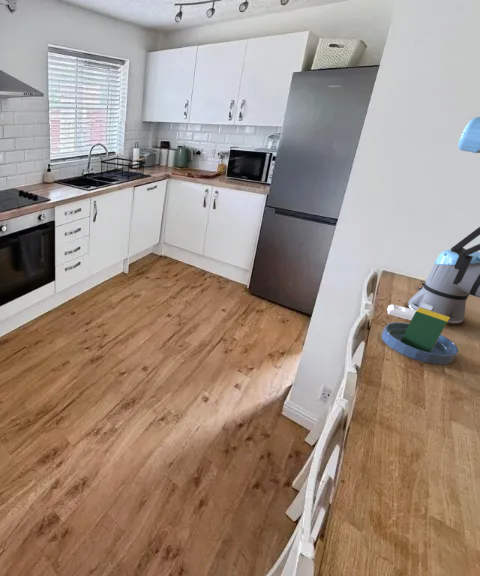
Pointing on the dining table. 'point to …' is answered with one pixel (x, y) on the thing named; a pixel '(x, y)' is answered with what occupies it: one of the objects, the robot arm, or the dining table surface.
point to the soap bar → (401, 312)
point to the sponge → (424, 329)
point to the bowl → (439, 354)
